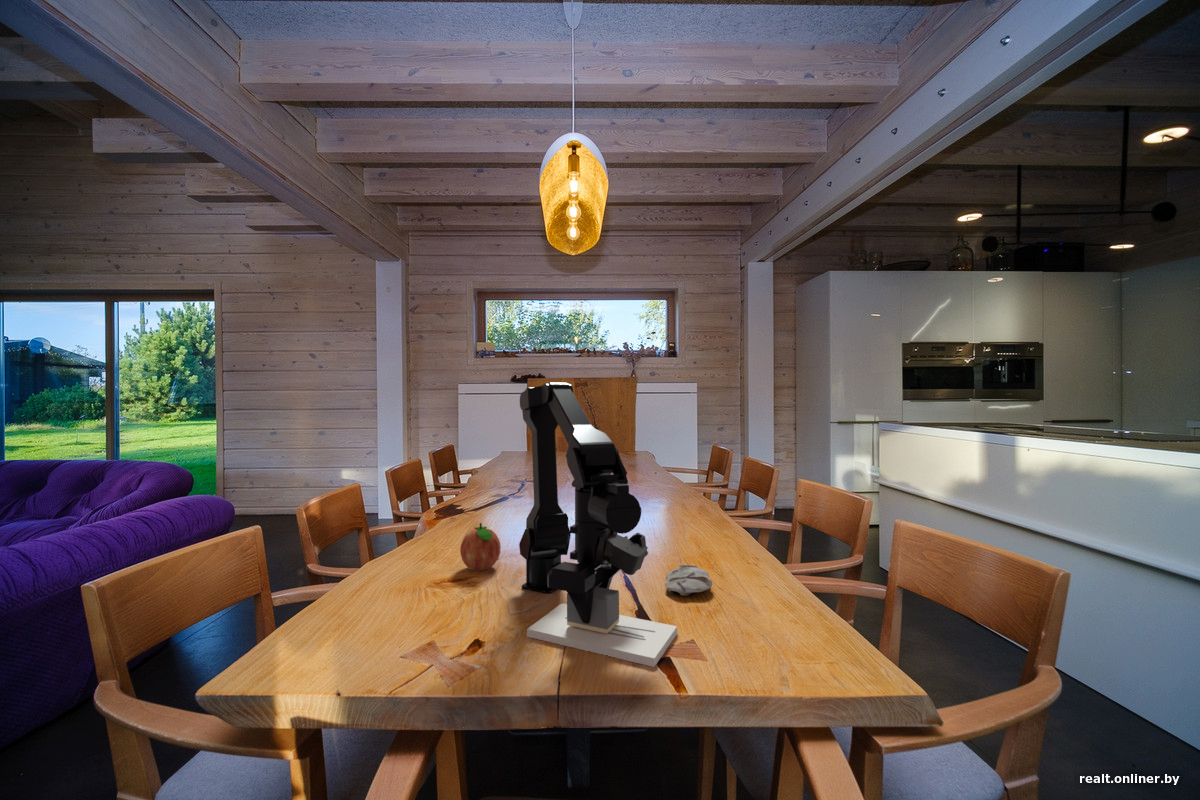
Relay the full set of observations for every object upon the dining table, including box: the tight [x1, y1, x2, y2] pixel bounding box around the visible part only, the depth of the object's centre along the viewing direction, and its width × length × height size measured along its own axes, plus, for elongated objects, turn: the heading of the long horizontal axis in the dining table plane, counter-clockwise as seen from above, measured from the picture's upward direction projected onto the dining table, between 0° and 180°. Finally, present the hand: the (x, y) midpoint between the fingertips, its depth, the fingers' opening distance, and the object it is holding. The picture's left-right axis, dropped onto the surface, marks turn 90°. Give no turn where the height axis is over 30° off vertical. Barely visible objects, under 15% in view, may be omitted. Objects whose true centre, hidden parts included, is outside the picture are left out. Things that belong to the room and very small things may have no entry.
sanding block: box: [566, 587, 620, 633], centre depth 80 cm, size 7×4×5 cm, turn 65°
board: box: [526, 603, 678, 668], centre depth 80 cm, size 21×11×1 cm, turn 65°
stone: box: [664, 564, 713, 597], centre depth 100 cm, size 12×9×3 cm
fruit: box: [459, 522, 501, 571], centre depth 111 cm, size 9×10×10 cm
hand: (593, 617), depth 80 cm, fingers closed on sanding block, 4 cm apart
